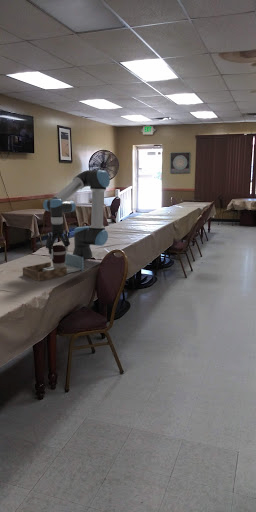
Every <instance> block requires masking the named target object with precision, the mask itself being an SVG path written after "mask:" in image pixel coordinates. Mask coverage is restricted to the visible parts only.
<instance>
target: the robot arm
mask: <svg viewBox="0 0 256 512" xmlns="http://www.w3.org/2000/svg"><path fill="white" fill-rule="evenodd" d="M110 183H111V178H110V176H109V173H108V172H107V171H106V170H101V169H99V170H94V169H93V170H91V169H89V170H87V169H86V170H84V171H82V172H80V173H78V174H77V175H76V176H75V177H73V179H72V181H71V182H70V183H68V184H67V185H66V186H65V187H63V188H62V189H61V190H60V191H59V192H58V193H57V194H56V195H54V196H53V197H52V198H51V199H45V200H44V201H43V204H42V207H43V210H44V211H47V212H50V223H51V226H50V228H51V232H47V233H46V234H47V239H46V243H45V249H47V250H48V254H49V259H50V260H52V259H53V249H52V247H53V246H54V245H55V242H56V240H57V239H59V238H60V241H61V242H62V243H63V244H62V245H63V246H64V247H65V248H66V251H65V256H67V253H68V249H69V248H68V247H69V246H70V245H71V243H70V238H69V235H68V230H64V215H63V214H67V213H72V212H75V210H76V208H77V207H76V203H75V202H74V201H73V200H69V199H70V198H71V197H72V196H74V195H75V194H76V193H77V192H78V191H79V190H82V189H84V188H86V187H89V190H91V217H90V219H91V222H90V225H89V226H87V225H85V226H78V227H75V228H74V229H73V240H74V242H73V245H74V247H73V251H72V255H76V256H79V257H83V258H84V260H86V259H87V260H88V259H91V258H93V252H92V249H91V246H100V247H101V246H104V245H105V244H106V243H107V241H108V238H109V234H108V230H106V227H105V225H104V204H105V203H104V202H105V201H104V200H105V192H106V191H107V188H108V187H109V186H110Z"/></svg>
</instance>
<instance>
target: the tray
mask: <svg viewBox="0 0 256 512" xmlns="http://www.w3.org/2000/svg"><path fill="white" fill-rule="evenodd" d="M72 254H73V253H72ZM72 254H71V253H68V252H67V256H65V267H67V274H69V273H75V272H79V271H80V270H81V272H84V270H85V269H84V268H85V267H84V266H85V264H84V263H85V262H84V260H85V259H84V258H83V257H79V256H76V255H72ZM53 269H54V268H53V265H51V267H47V268H43V270H42V272H44V271H48V270H53Z"/></svg>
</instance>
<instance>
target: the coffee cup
mask: <svg viewBox="0 0 256 512" xmlns="http://www.w3.org/2000/svg"><path fill="white" fill-rule="evenodd" d="M52 249H53V259H51V261H52V262H51V263H52V266H53V268H54V269H58V268H62V267H65V251H66V248H65V247H64V244H56V245H55V244H53V247H52Z"/></svg>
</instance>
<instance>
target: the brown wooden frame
mask: <svg viewBox="0 0 256 512" xmlns="http://www.w3.org/2000/svg"><path fill="white" fill-rule="evenodd" d="M47 267H52V262H51V261H49V262H43V263H38V264H32V265H28V266H22V275H23V276H25V277H27V278H29V279H32V280H36V281H37V282H41V281H46V280H50V279H54V278H55V279H56V278H58V277H59V278H60V277H62V276H67V275H68V273H67V267H62V268H58V269H53V270H48V271H42V270H43V268H47Z"/></svg>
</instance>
